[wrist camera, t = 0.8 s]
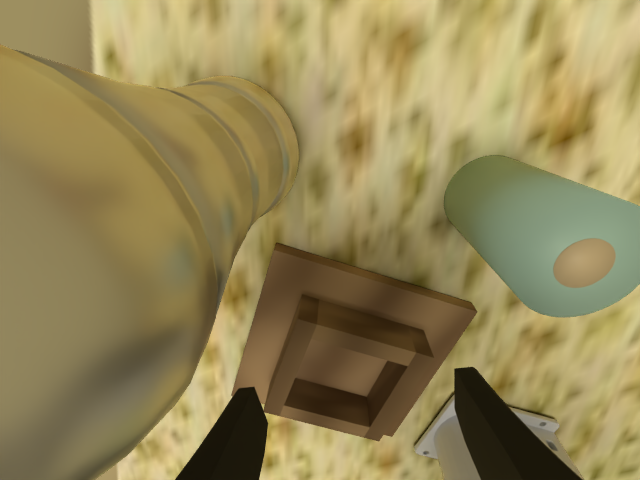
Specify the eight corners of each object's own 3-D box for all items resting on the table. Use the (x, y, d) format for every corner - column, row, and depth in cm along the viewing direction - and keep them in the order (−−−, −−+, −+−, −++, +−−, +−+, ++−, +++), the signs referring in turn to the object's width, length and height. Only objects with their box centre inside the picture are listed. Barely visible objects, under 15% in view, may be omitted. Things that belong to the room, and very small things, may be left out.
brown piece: (471, 302, 22) (494, 338, 18) (390, 425, 27) (397, 468, 24) (276, 242, 20) (265, 270, 17) (234, 385, 26) (220, 425, 23)
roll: (546, 171, 18) (695, 225, 10) (500, 243, 20) (597, 331, 12) (469, 143, 17) (568, 180, 10) (429, 220, 19) (487, 297, 12)
